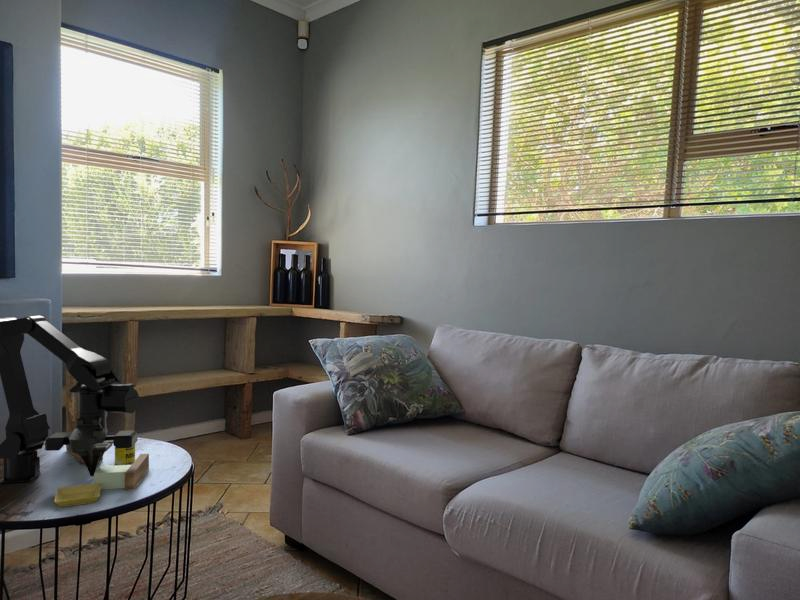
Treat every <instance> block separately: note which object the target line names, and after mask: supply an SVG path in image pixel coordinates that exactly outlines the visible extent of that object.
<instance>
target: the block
mask: <svg viewBox="0 0 800 600" xmlns="http://www.w3.org/2000/svg"><path fill="white" fill-rule="evenodd" d="M130 466H131V465H115V464H114V465H101V466H99V467H98V469H97V471H96V472H95V473H94V476H93V477H94V478H93V484H94V483H101V487H100V490H107V489H108V490H110V489H112V490H113V489H125V472H126V471H127V470H128V469H129V467H130Z"/></svg>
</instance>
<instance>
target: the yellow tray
mask: <svg viewBox="0 0 800 600" xmlns="http://www.w3.org/2000/svg"><path fill="white" fill-rule="evenodd" d="M100 487H101V483H94V482H93V483H86V484H79V485H77V484H76V485H70V486H63V487H58V488H57V490H56V494H55V496H54V500H53V502H54V503H55V504H56V505H57V506H58V507H60V508H63V507H64V508H65V507H71V506H78V505H84V504H85V505H86V504H92V503H96V502H97V500H98V499H99V498H100V496H101V489H100Z"/></svg>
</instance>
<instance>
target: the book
mask: <svg viewBox="0 0 800 600" xmlns="http://www.w3.org/2000/svg"><path fill="white" fill-rule="evenodd" d="M102 381H104V380H102ZM102 381H98V383H99V382H102ZM76 383H77V381H76V380H75V379H74V378H73V377H72V376H71V375H70V374H69V372H68V370H67V367H66V366H65V432H71V433H72V432H73V431H74V429H75V428H76V425H77V418H79V393H75V392H70V389H71V388H73V387H74V386H75V385H76ZM95 447H96V446H95ZM65 448H66V451H67V453H68V454H69V455H70V456H71V457H72V458H73V459H74V460H75V461H76V462H77V463H78V464H79V465H80V466H86V465H85V463H84V461H83V459H82V458H81V456H80V455H78V454H77V453H73V452H72V451H71V447H70V445H65ZM102 460H104V456H103V457H102V459H101V462H103V461H102Z"/></svg>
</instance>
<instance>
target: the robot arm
mask: <svg viewBox="0 0 800 600" xmlns="http://www.w3.org/2000/svg"><path fill="white" fill-rule="evenodd" d="M25 334H27V335H29V337H31V338H33V340H35V341H36V342H37V343H39V344H40V345H41V346H43V347H44V348H45V349H46V350H48V351H49V352H50V353H51V354H53V355H54V356H55V357H57V358H58V359H59V360H60V361H62V362H63V364H64V365H65V368H66V367H67V370H68V372H69V374H70V375H71V376H72V377H73V378H74V379H75V380H76V381H77V383H76V385H75V386H74V387H73V388H71V389H70V392H75V393H79V418H77V425H76V428H75V429H74V431H73V432H72V433H71V432H66V431H64V432H63V431H61V432H54V433H53V434H52V435H50V436H49V430H50V429H51V427H50V425H49V423H48V417H47V414H46V413H45V412H44V413H39V412H38V411H37V410H36V409H35V408H34V404H33V400H32V396H31V392H30V391H31V390H30V388H29V384H28V379H27V376H26V375H27V374H26V369H25V367H24V362H23V359H22V355H21V349H22V348H23V344H24V341H25ZM0 380H1V384H2V389H3V393H4V396H5V401H6V405H7V410H8V413H9V416H8V418H7V422H6V425H5V428H4V429H5V430H4V431H5V439H4V440H3V441H2V442H1V443H0V459H2V464H3V465H2V468H3V469H2V470H3V477H2V479H0V484H10V483H11V484H13V483H29V482H31V481H32V480H33V479H35V478H36V477H38V476H39V475H40V474H42V473H41V468H40V467H41V466H40V465H41V464H40V462H41V461H40V460H41V459H40V456H38V450H41V449H43V447H44V451H46V452H47V451H48V452H50V451H51V452H52V451H55V452H56V451H60V450H61V449H62V448H63V447H64V446H66V445H70V447H71V451H72V452H73V453H77V454H78V455H80V456H81V458H82V459H83V461H84V463H85V465H84V466H85V467H86V470H87V472H88V475H89V476H90V477H94V473H95V472H96V471H97V470H98V469H99V468H100V464H101V462H102V461H101V459H102V457H103V458H104V454H105V452H107V451H108V450H109V449H110V448H111V447H112V446H114V448H115V447H116V448H131V447H132V446H133V445H134V444H135V445H136V443H137V442H138V432H137V431H136V430H130V429H129V430H119V431H118V432H117V433H116V434H115V435H113V434H112V435H111V434H110V435H107V434H108V428H107V418H108V413H114V414H115V413H117V414H134V413H135V412H136V411H137V409H138V407H139V405H140V395H139V393H138V391H137V389H135V384H134V383H125V384H124V383H122V384H121V381H120V379H119V378H118V376H117V374H116V373H115V371H114V370H113V369H112V367H111V363H110V361H109V360H108V359H107V358H105V357H103V356H102V355H100V354H98V353H96V352H93V351H91V350H87V349H84V348H83V347H81V346H79V345H78V344H77V343H75V342H74V341H73V340H71V338H69V337H68V336H67V335H65V334H64V333H63V332H61V331H60V330H58V329H57V328H56V327H55V326H54V325H52V324H51V323H50V322H48V320H47V318H46V317H44V316H42V315H30V316H24V317H22V318H17V317H13V316H10V317H8V316H7V317H0ZM102 380H103V381H102ZM98 381H102V382H99V383H98ZM95 446H96V447H95ZM100 461H101V462H100Z"/></svg>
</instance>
